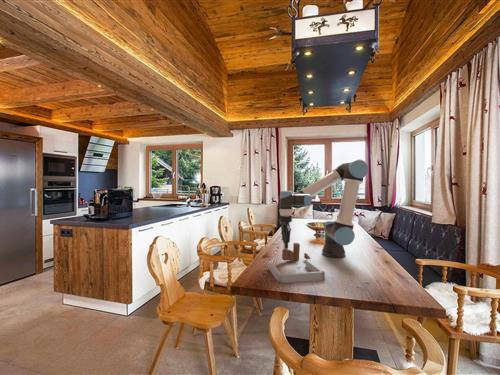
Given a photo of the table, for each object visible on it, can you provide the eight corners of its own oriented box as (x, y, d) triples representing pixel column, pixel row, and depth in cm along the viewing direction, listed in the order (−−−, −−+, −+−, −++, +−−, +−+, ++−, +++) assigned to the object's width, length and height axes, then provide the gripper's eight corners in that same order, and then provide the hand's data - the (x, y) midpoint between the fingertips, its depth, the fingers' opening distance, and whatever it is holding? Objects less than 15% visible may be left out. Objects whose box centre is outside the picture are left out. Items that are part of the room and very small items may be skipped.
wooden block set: (285, 264, 153) (286, 247, 152) (278, 259, 161) (279, 243, 160) (310, 261, 159) (311, 245, 158) (303, 257, 167) (304, 241, 167)
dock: (307, 266, 149) (307, 259, 149) (324, 280, 128) (324, 272, 128) (268, 268, 145) (268, 261, 145) (279, 283, 124) (279, 275, 124)
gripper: (277, 214, 164) (277, 250, 165) (283, 216, 151) (283, 256, 152) (288, 214, 166) (288, 249, 166) (295, 216, 153) (295, 255, 153)
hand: (285, 252), depth 159 cm, fingers closed, pressing on wooden block set
